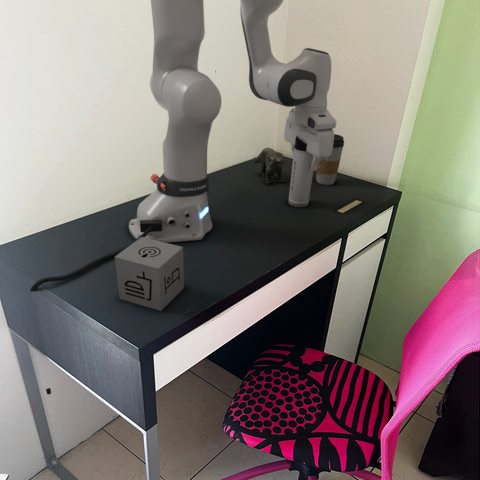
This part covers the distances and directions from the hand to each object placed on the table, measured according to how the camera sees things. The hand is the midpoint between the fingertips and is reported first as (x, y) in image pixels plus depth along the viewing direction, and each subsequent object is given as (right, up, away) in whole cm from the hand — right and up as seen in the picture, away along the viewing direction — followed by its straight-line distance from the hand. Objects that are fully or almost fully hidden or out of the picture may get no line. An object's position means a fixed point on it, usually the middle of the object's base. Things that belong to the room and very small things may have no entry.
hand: (304, 164), depth 142 cm
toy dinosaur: (-9, +3, +23) cm, 25 cm away
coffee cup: (+10, +2, +23) cm, 26 cm away
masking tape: (+15, -11, +7) cm, 20 cm away
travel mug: (-1, -10, +7) cm, 12 cm away
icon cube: (-38, -40, -38) cm, 67 cm away
